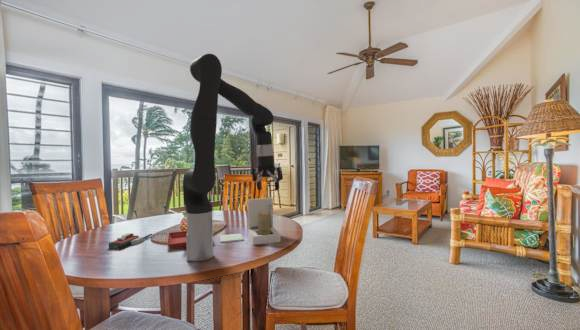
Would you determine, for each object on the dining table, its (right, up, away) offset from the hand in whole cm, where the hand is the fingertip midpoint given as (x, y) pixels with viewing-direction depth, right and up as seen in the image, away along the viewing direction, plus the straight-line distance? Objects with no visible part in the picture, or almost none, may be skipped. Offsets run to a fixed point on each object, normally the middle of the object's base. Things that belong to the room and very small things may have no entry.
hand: (268, 190), depth 126 cm
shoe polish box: (-1, -22, -3) cm, 23 cm away
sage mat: (-17, -22, +1) cm, 28 cm away
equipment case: (-2, -22, -1) cm, 22 cm away
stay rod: (+1, -18, +6) cm, 19 cm away
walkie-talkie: (-61, -24, -3) cm, 66 cm away
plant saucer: (-35, -23, -4) cm, 42 cm away
